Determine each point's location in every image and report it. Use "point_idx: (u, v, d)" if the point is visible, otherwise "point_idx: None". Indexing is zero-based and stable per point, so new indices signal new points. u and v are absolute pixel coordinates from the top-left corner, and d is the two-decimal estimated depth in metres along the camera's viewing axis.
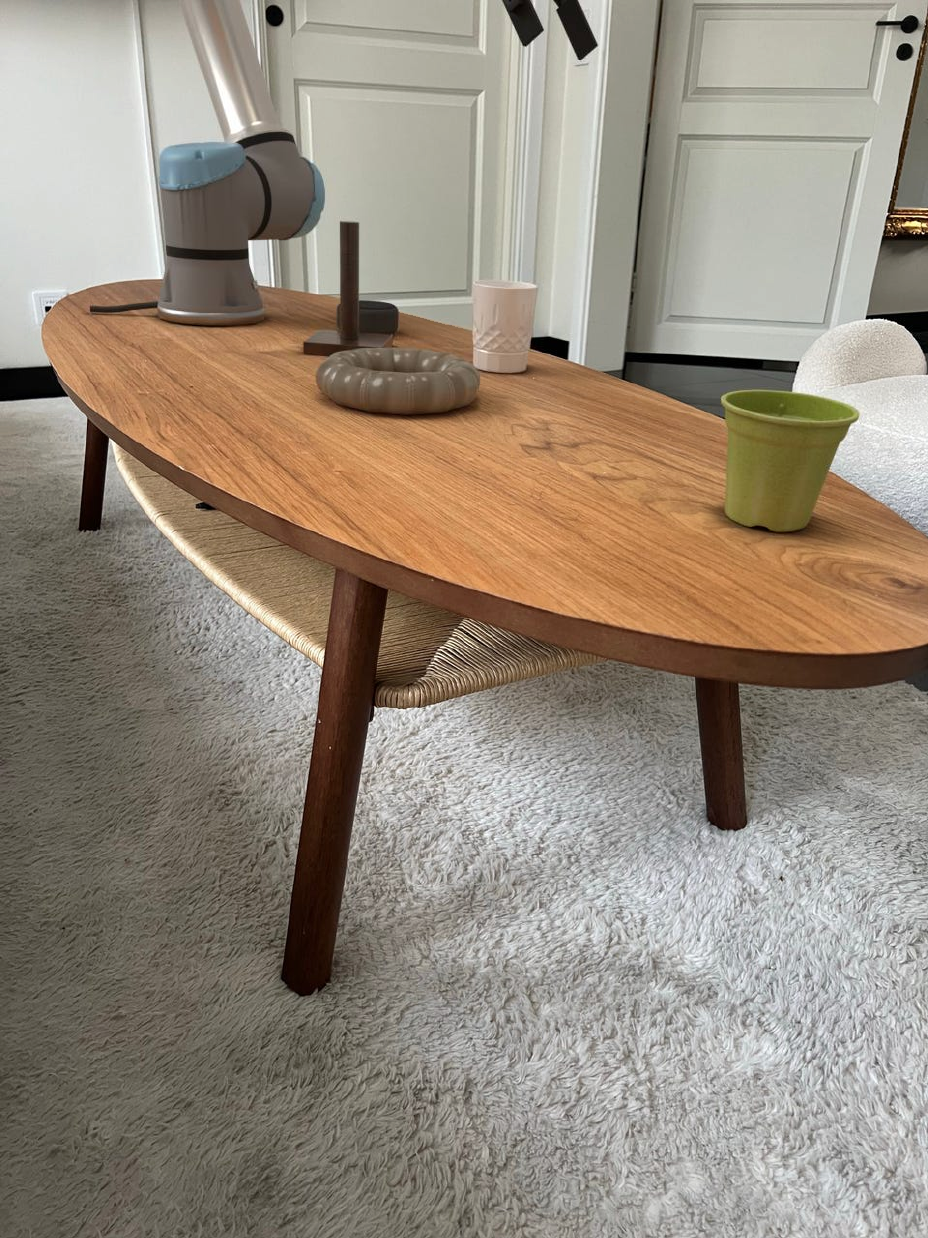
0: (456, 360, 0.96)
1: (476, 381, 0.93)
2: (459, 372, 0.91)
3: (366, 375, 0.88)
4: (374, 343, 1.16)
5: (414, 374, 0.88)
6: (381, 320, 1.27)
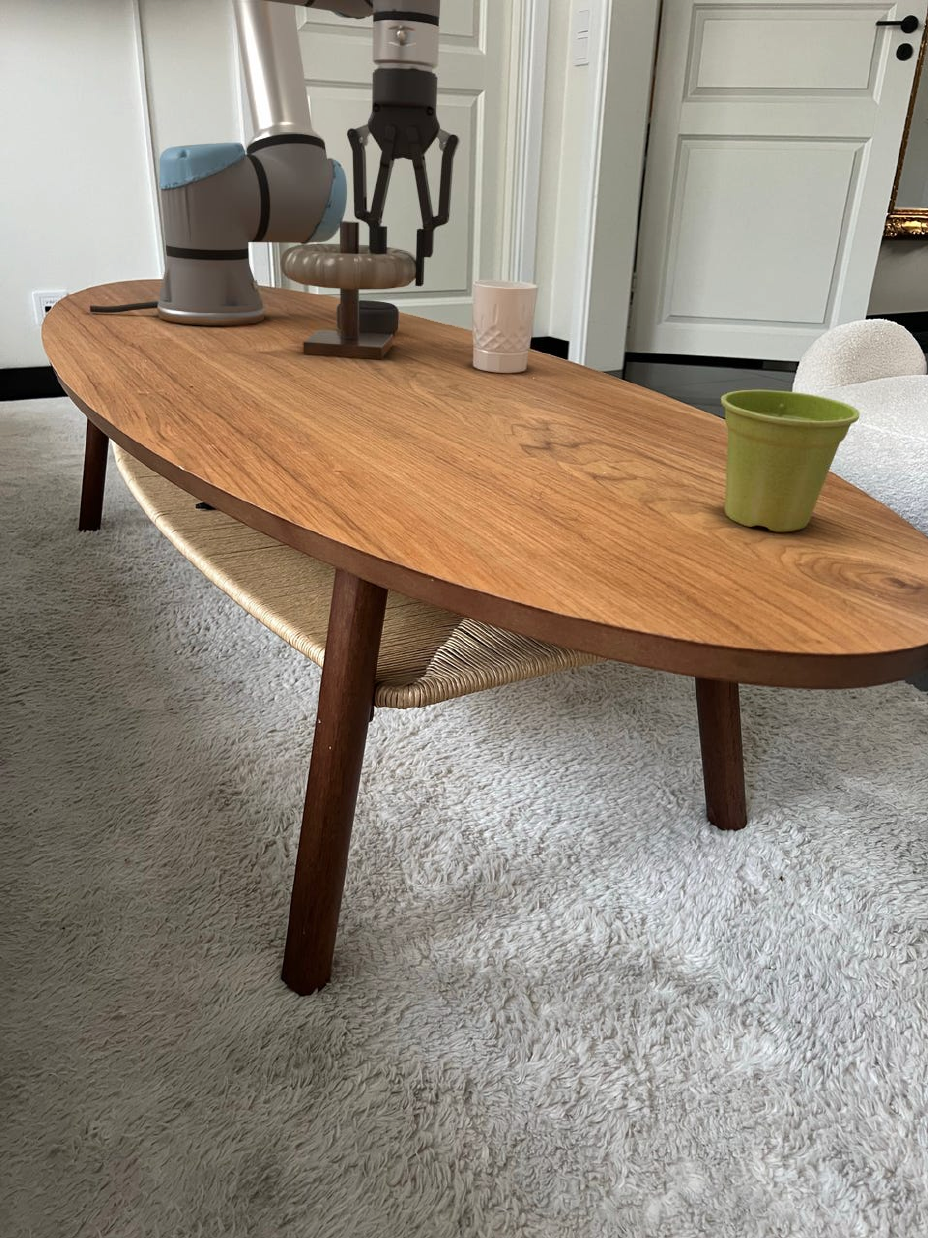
0: (398, 250, 1.15)
1: (414, 264, 1.12)
2: (399, 255, 1.10)
3: (320, 255, 1.07)
4: (374, 343, 1.16)
5: (360, 254, 1.07)
6: (381, 320, 1.27)
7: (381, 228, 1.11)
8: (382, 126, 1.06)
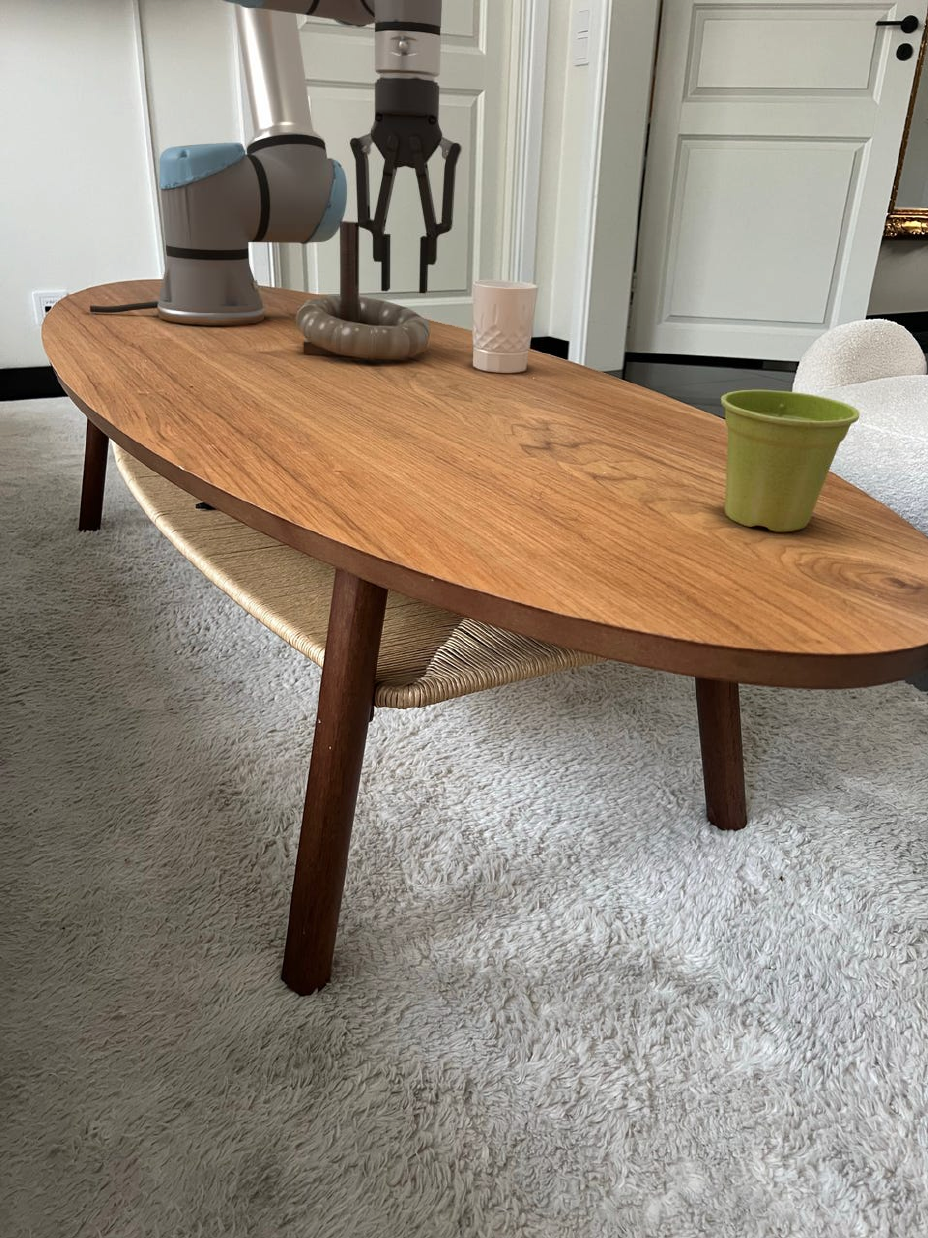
0: (412, 314, 1.17)
1: (427, 335, 1.14)
2: (414, 327, 1.13)
3: (338, 325, 1.09)
4: None
5: (377, 327, 1.10)
6: None
7: (384, 236, 1.11)
8: (385, 135, 1.06)
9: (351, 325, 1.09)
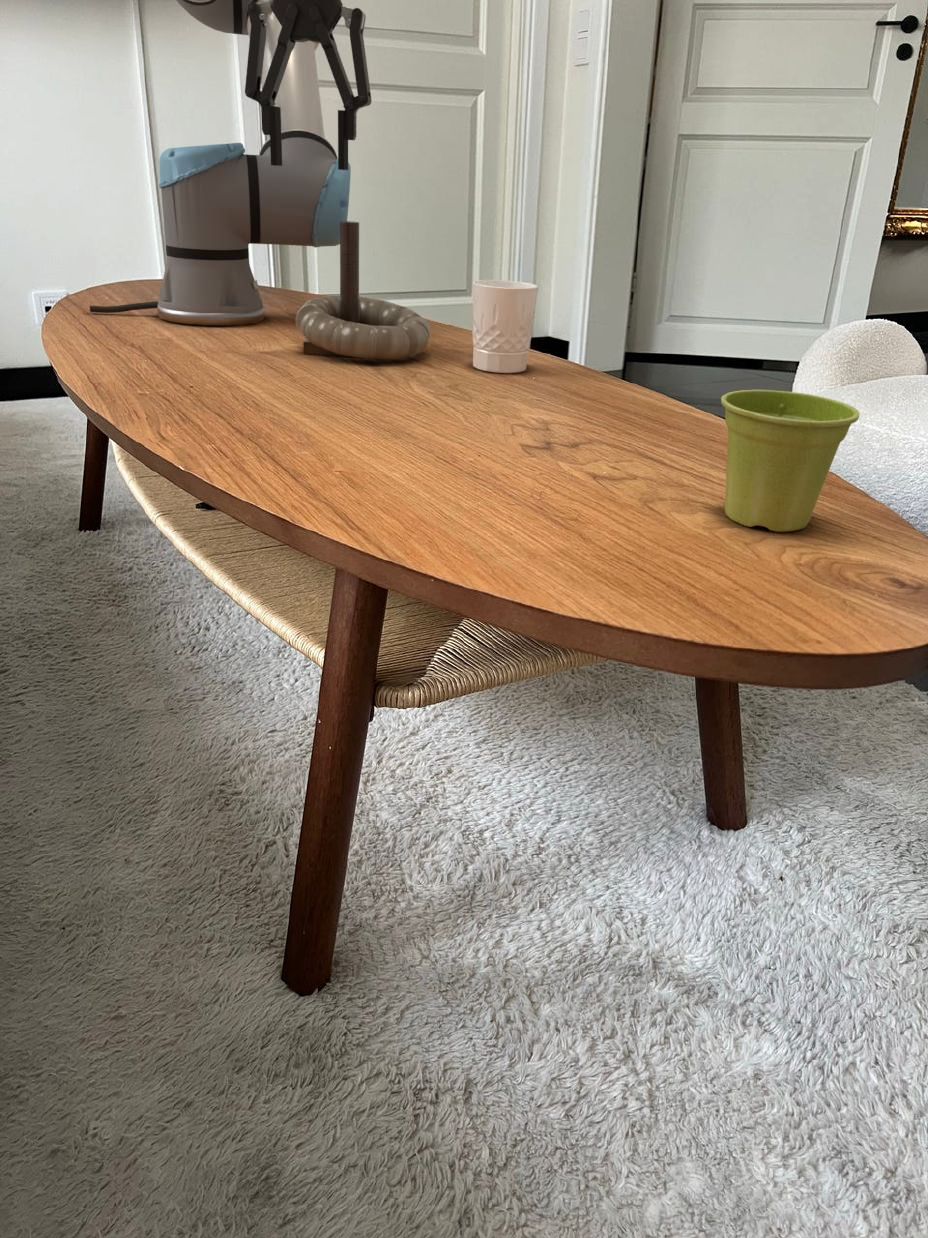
0: (412, 314, 1.17)
1: (427, 335, 1.14)
2: (414, 327, 1.13)
3: (338, 325, 1.09)
4: None
5: (377, 327, 1.10)
6: None
7: (272, 107, 1.10)
8: (284, 7, 1.06)
9: (351, 325, 1.09)
